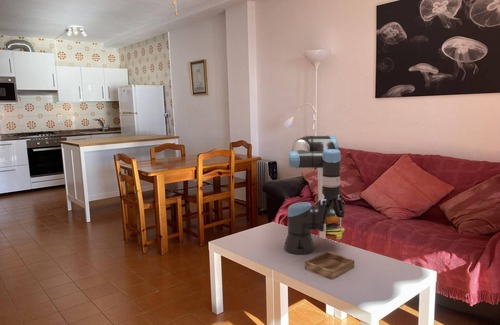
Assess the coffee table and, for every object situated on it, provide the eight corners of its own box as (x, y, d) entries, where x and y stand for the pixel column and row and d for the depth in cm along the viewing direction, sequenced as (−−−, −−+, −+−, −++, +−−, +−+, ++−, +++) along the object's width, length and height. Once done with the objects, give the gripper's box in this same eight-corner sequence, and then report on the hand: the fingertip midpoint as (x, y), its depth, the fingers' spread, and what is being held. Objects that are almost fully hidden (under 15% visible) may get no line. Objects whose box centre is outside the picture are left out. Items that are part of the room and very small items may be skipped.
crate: (304, 268, 169) (304, 261, 169) (327, 258, 180) (327, 251, 180) (332, 279, 159) (332, 271, 158) (354, 267, 170) (354, 260, 169)
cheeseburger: (330, 241, 159) (327, 218, 160) (316, 239, 169) (313, 217, 169) (349, 237, 163) (346, 214, 164) (334, 235, 173) (331, 214, 173)
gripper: (322, 191, 153) (321, 243, 157) (353, 182, 169) (352, 230, 172) (307, 188, 158) (307, 239, 162) (339, 180, 174) (338, 226, 178)
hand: (330, 234), depth 167 cm, fingers closed on cheeseburger, 11 cm apart
